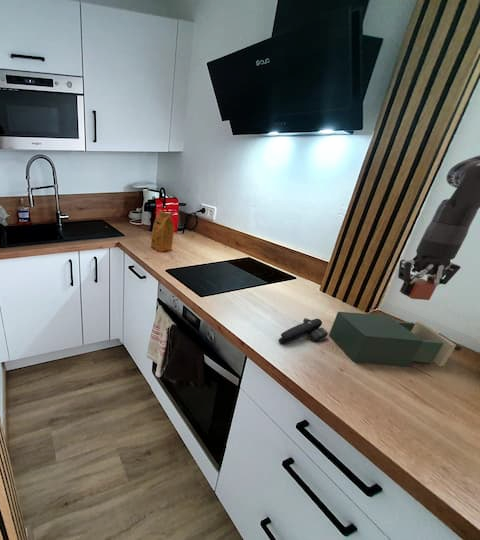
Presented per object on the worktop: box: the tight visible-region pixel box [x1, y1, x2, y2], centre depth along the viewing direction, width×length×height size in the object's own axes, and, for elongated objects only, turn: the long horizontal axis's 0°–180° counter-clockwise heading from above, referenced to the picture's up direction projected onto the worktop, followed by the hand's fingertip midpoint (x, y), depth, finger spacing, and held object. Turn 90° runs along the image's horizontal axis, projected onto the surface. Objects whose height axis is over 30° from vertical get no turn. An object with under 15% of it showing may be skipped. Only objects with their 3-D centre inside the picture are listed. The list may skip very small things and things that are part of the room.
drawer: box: [395, 320, 463, 367], centre depth 83 cm, size 18×11×7 cm, turn 84°
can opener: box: [278, 317, 329, 345], centre depth 89 cm, size 18×7×6 cm, turn 110°
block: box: [399, 277, 437, 301], centre depth 83 cm, size 5×5×5 cm
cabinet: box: [328, 311, 423, 368], centre depth 84 cm, size 15×13×9 cm
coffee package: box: [150, 209, 175, 253], centre depth 162 cm, size 10×12×22 cm
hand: (414, 294), depth 83 cm, fingers closed on block, 4 cm apart
